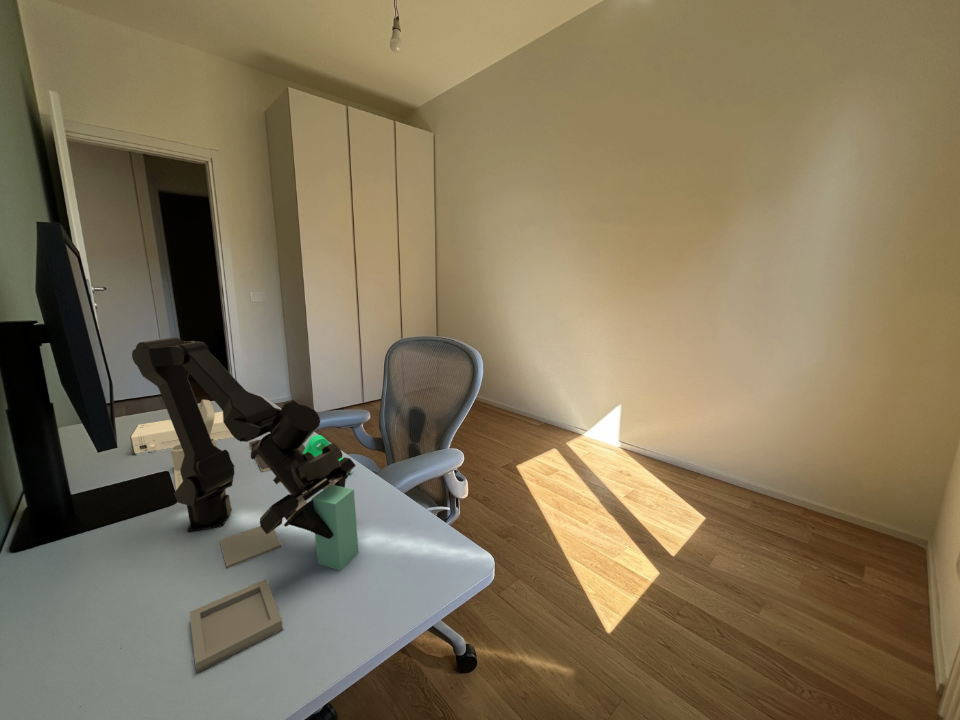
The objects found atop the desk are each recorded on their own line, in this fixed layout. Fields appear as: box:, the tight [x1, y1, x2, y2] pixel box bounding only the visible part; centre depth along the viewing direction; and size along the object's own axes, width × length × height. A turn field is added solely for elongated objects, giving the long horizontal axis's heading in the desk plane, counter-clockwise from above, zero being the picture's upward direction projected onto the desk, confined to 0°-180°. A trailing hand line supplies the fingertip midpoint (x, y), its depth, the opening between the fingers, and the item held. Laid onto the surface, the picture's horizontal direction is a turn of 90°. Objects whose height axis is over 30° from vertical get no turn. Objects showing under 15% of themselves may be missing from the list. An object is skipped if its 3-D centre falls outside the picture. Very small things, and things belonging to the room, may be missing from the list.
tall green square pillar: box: [311, 485, 359, 571], centre depth 72 cm, size 5×5×13 cm
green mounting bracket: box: [303, 434, 352, 473], centre depth 101 cm, size 12×8×10 cm, turn 130°
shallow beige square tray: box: [189, 578, 284, 674], centre depth 59 cm, size 10×10×2 cm
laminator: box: [130, 411, 235, 453], centre depth 126 cm, size 34×12×6 cm, turn 122°
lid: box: [219, 525, 282, 569], centre depth 77 cm, size 9×9×1 cm
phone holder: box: [170, 399, 217, 491], centre depth 102 cm, size 17×10×18 cm, turn 39°
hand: (342, 527), depth 71 cm, fingers closed on tall green square pillar, 5 cm apart
